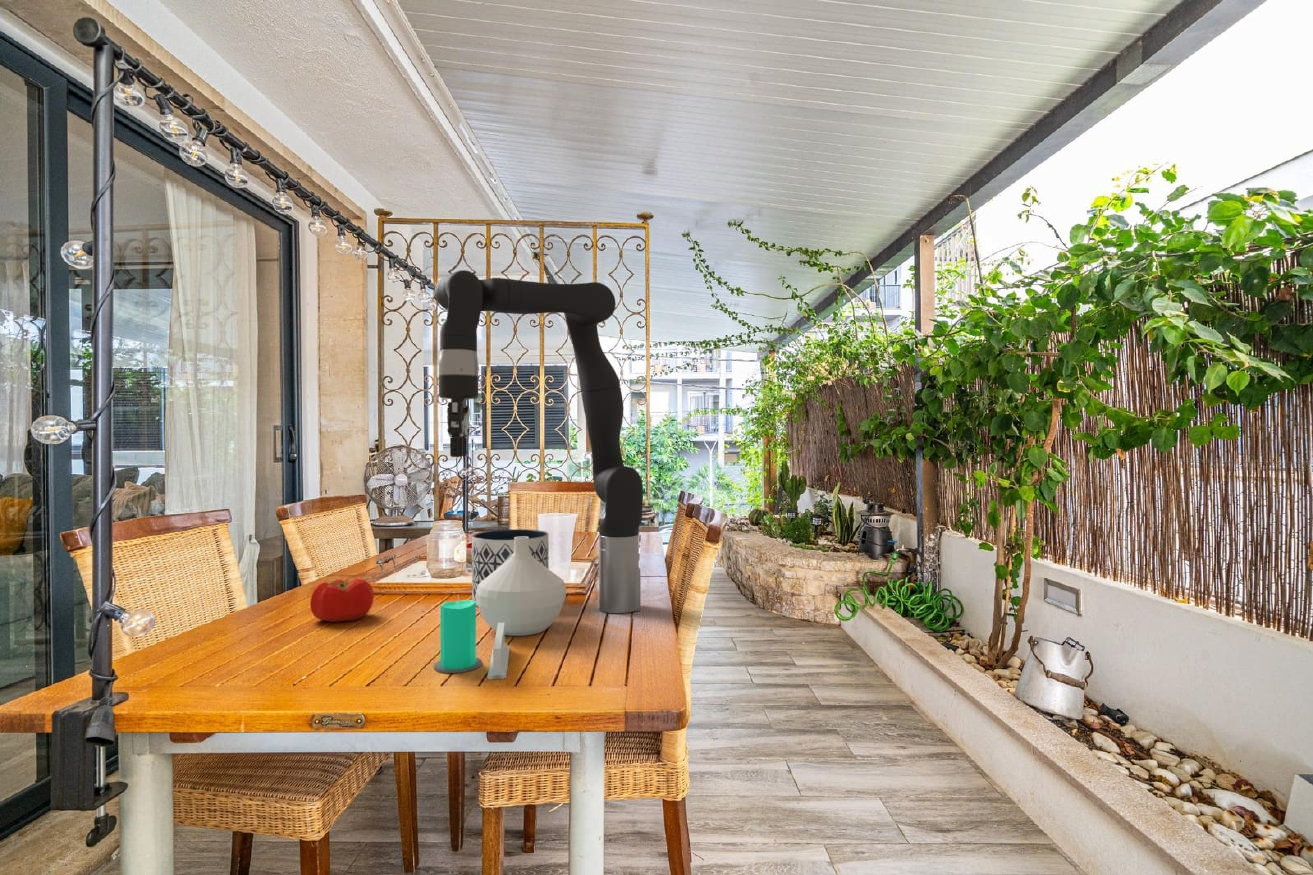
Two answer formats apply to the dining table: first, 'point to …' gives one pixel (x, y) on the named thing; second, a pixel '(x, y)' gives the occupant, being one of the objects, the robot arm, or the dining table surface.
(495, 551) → the planter
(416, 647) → the dining table surface
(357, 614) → the tomato
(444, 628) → the candle
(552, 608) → the vase
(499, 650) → the divider wall
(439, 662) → the coaster
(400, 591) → the dining table surface
